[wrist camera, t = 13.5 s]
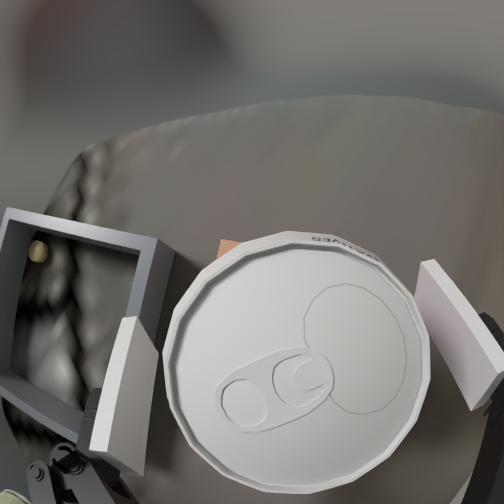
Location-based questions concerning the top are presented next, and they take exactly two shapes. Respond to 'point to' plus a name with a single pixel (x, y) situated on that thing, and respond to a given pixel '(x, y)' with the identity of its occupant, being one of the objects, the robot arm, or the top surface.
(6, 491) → the coffee can
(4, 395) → the parts tub
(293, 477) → the supplement can
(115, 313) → the top surface
